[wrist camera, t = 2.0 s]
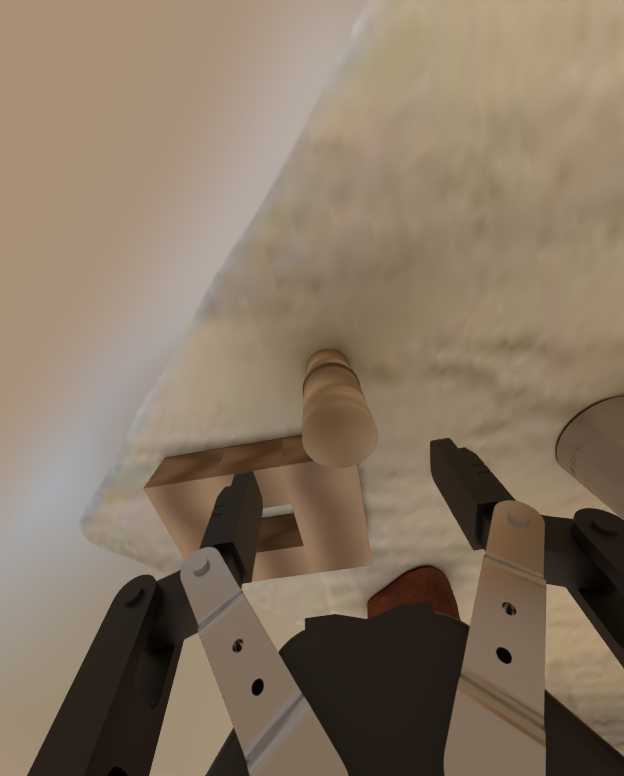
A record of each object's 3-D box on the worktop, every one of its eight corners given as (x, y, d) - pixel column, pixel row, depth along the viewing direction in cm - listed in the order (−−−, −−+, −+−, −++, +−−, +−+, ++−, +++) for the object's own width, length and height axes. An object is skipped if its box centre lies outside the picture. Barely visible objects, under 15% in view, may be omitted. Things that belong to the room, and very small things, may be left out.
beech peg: (348, 342, 24) (374, 398, 14) (354, 387, 25) (381, 462, 16) (299, 351, 24) (293, 412, 15) (308, 395, 26) (309, 474, 16)
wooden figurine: (391, 618, 40) (448, 866, 24) (357, 602, 39) (394, 857, 22) (457, 575, 37) (579, 835, 20) (423, 555, 35) (525, 822, 19)
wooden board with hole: (349, 427, 27) (355, 454, 23) (365, 530, 33) (372, 565, 29) (164, 458, 28) (143, 488, 25) (212, 552, 34) (200, 588, 30)
